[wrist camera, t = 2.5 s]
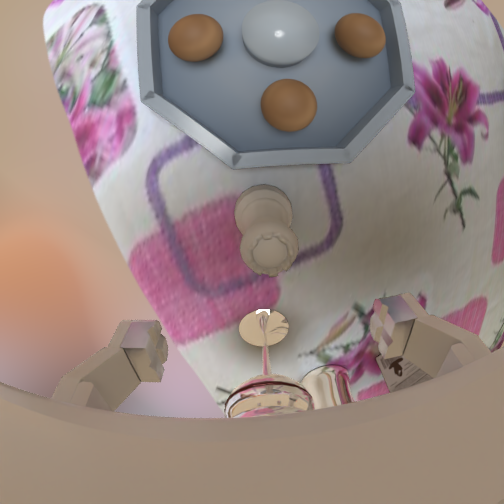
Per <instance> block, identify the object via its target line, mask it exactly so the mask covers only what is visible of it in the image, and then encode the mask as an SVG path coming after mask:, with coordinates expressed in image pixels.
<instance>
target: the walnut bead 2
mask: <svg viewBox="0 0 504 504" xmlns="http://www.w3.org/2000/svg"><path fill="white" fill-rule="evenodd" d="M261 111H262V114H263V116H264V118H265V119H266V121H267V122H268V123H269V124H270V125H271V126H273V127H274V128H276V129H279V130H281V131H286V132H293V131H298V130H301V129H303V128H305V127H307V126H308V125H309V124H310V123H311V122H312V121H313V119H314V117H315V115H316V112H317V100H316V97H315V95H314V93H313V91H312V90H311V89H310V88H309V87H308V86H307V85H306V84H304V83H303V82H301V81H298V80H295V79H281V80H278V81H275V82H273V83H272V84H270V85H269V86H268V87H267V88H266V89H265V91H264V92H263V95H262V97H261Z"/></svg>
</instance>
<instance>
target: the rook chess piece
mask: <svg viewBox="0 0 504 504" xmlns="http://www.w3.org/2000/svg"><path fill="white" fill-rule="evenodd" d="M234 214H235V221H236V226H237V228H238V229H239V230H240V232H241V233H242V235H243V237H242V240H241V244H240V253H241V257H242V259H243V261H244V262H245V264H246V265H247V266H248V267H249V268H251V269H252V270H253V272H255V273H257V274H258V275H260V276H261V274H262V273H263V274H269V277H275V276H278V273H279V272H281V271H283V270H285V271H287V270H288V269H289V268H290V267H291V266H292V263H293V262H294V260H295V259H296V256H297V253H298V250H299V247H298V239H297V237H296V235H295V234H294V232H293V230H292V229H291V228H290V225H291V222H292V218H293V215H292V207H291V203H290V201H289V199H288V198H287V196H286V195H285V193H284V192H282V191H281V190H279V189H278V188H276V187H274V186H269V185H265V184H263V185H257V186H252V187H251V188H249V189H248V190H246V191H244V192H243V193H242V194H241V196H240V197H239V199H238V200H237V201H236V206H235V210H234Z"/></svg>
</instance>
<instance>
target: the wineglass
mask: <svg viewBox="0 0 504 504" xmlns="http://www.w3.org/2000/svg"><path fill="white" fill-rule="evenodd" d="M288 328H289V325H288V321H287V320H286V318H285V317H284V316H283V315H282V314H280V313H279V312H276V311H273V310H257V311H253V312H251V313H249V314H247V315H246V316H245V317H244V318H243V319H242V320H241V322H240V324H239V333H240V335H241V337H242V338H243V339H244V340H245V341H246V342H248V343H250V344H252V345H256V346H262V348H263V374H262V375H257V376H255V377H252V378H250V379H248V380H246V381H245V382H243V383H241V384H240V385H239V386H237V387H236V388H234V390H233V391H232V393H231V395H230V396H229V398H228V399H227V401H226V403H225V409H224V413H225V418H240V417H256V416H268V415H279V414H287V413H295V412H303V411H309V410H315V404H314V401H313V398H312V396H311V394H310V392H309V391H308V390H307V389H306V388H305V387H304V386H303V384H302V383H300V382H298V381H296V380H294V379H292V378H289V377H286V376H284V375H279V374H272V372H271V365H270V358H269V351H268V346H269V345H273V344H276V343H278V342H280V341H281V340H282V339H283V338H284V337H285V336H286V334H287V333H288Z"/></svg>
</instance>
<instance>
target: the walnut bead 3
mask: <svg viewBox="0 0 504 504" xmlns="http://www.w3.org/2000/svg"><path fill="white" fill-rule="evenodd" d="M335 38H336V41H337V43H338V44H339V46H340V47H341V48H342V49H343V50H344V51H345V52H346V53H348V54H350V55H352V56H354V57H358V58H371V57H374V56H376V55H378V54H379V53H380V52H381V51H382V50H383V48H384V46H385V42H386V36H385V32H384V30H383V28H382V27H381V25H380V24H379V23H378V22H377V21H376V20H375V19H373V18H372V17H370V16H368V15H365V14H361V13H351V14H347V15H345V16H343V17H342V18H341V19H340V20H339V21H338V22H337V24H336V26H335Z"/></svg>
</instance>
